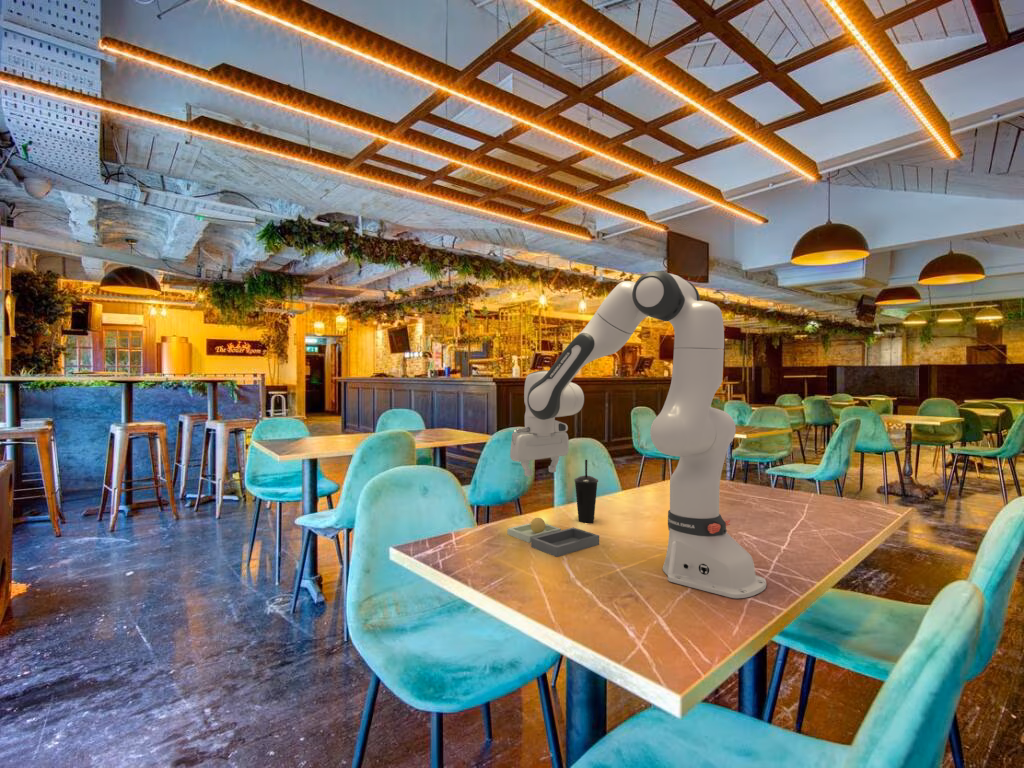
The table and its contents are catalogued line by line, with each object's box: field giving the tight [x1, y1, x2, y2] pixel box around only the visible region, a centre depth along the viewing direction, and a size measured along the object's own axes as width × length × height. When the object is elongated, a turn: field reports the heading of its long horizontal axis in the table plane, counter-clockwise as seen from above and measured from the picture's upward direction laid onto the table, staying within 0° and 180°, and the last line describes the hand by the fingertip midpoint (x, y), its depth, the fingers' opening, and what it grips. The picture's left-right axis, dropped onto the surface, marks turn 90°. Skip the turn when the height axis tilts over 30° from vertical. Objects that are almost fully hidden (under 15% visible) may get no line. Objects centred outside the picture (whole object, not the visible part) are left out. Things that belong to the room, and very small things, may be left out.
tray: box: [506, 522, 562, 544], centre depth 150 cm, size 10×12×2 cm
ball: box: [530, 517, 546, 533], centre depth 151 cm, size 4×4×4 cm
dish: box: [530, 526, 600, 558], centre depth 139 cm, size 10×16×3 cm, turn 129°
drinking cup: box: [573, 459, 599, 524], centre depth 165 cm, size 8×8×20 cm
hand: (540, 473), depth 150 cm, fingers open, 8 cm apart
